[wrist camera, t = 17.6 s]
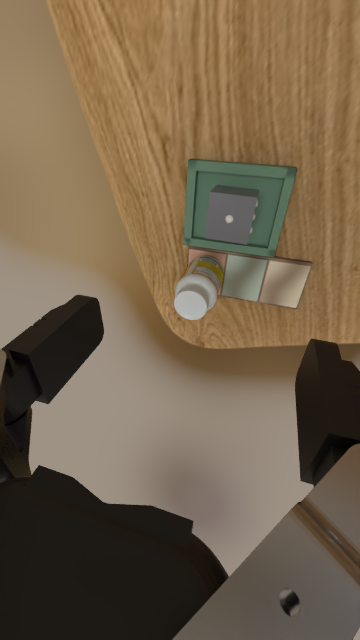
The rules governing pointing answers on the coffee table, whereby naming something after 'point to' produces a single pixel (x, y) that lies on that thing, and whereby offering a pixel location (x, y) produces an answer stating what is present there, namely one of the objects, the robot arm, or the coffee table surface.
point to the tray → (264, 178)
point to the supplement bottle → (198, 287)
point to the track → (258, 276)
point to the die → (231, 213)
